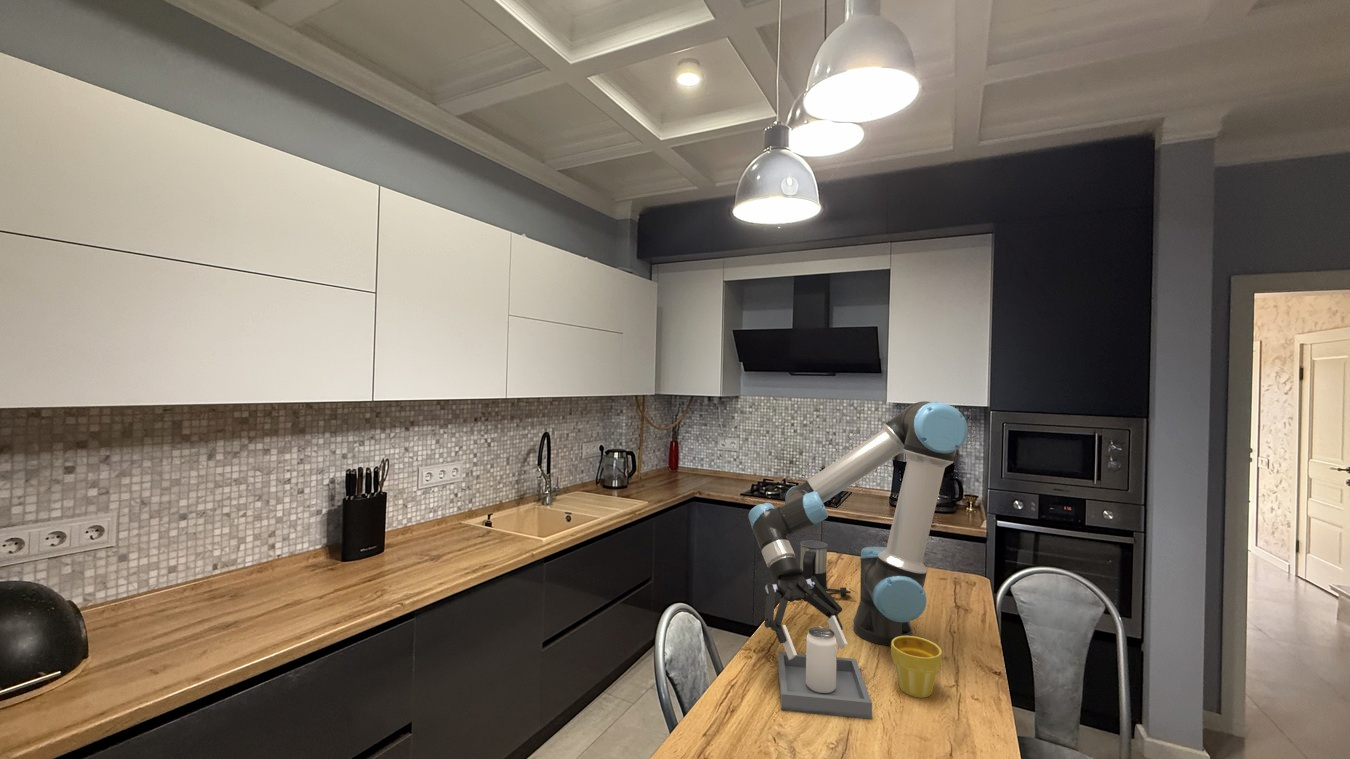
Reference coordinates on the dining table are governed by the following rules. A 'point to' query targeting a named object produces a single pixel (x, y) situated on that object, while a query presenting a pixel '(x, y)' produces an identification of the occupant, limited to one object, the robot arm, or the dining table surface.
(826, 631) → the can
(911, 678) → the plant pot
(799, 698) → the tray
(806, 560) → the milk frother
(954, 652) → the dining table surface
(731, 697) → the dining table surface
